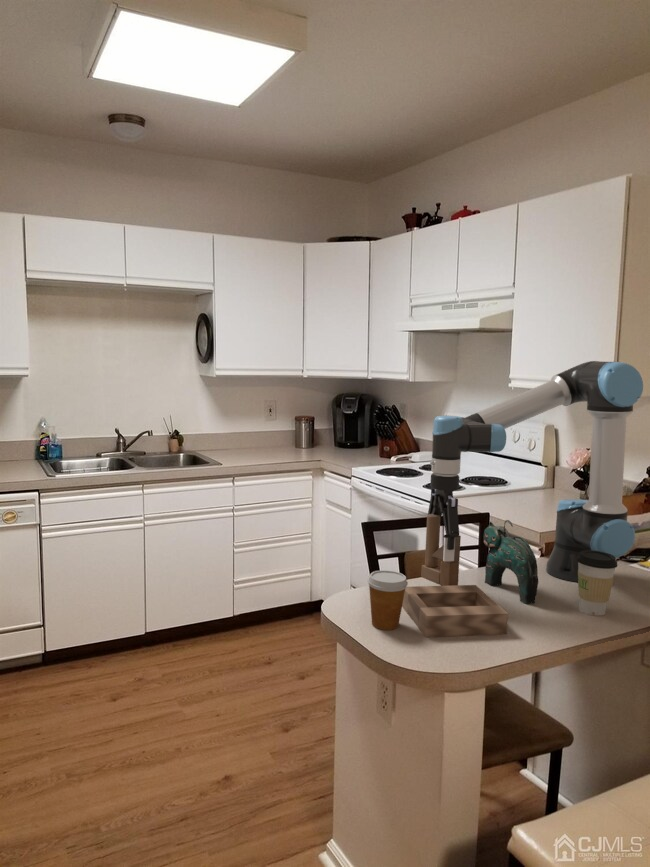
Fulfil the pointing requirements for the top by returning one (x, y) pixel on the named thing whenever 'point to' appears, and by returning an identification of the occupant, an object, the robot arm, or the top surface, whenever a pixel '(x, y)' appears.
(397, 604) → the disposable coffee cup
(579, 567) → the coffee cup
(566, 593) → the top surface
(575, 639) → the top surface
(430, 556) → the wooden post with wedge
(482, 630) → the walnut slotted base
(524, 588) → the teal animal figurine
